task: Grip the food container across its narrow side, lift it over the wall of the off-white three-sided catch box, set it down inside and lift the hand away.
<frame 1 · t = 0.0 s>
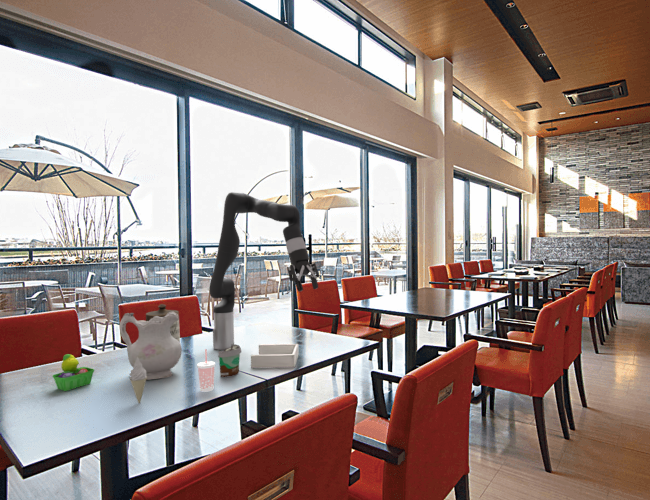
hand: (308, 289, 165), 31 cm above the table, tool tilted 20°, fingers open, 8 cm apart
lidded jar: (163, 351, 200), on the table
ceramic pitcher: (152, 375, 162), on the table
food container: (233, 374, 163), on the table
ice cream cone: (139, 403, 134), on the table
catch box: (275, 361, 178), on the table
fruit basket: (73, 386, 152), on the table
beverage cup: (206, 390, 146), on the table
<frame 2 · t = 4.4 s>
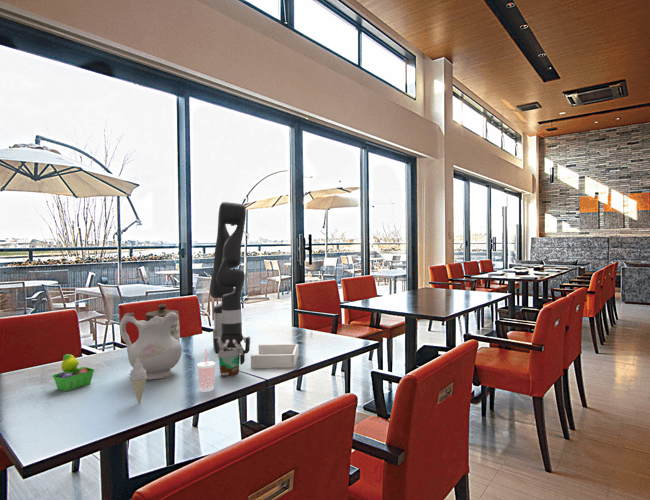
hand: (232, 364, 162), 4 cm above the table, tool pointing down, fingers closed on food container, 6 cm apart
food container: (233, 374, 163), on the table, touching gripper
everything else where it was.
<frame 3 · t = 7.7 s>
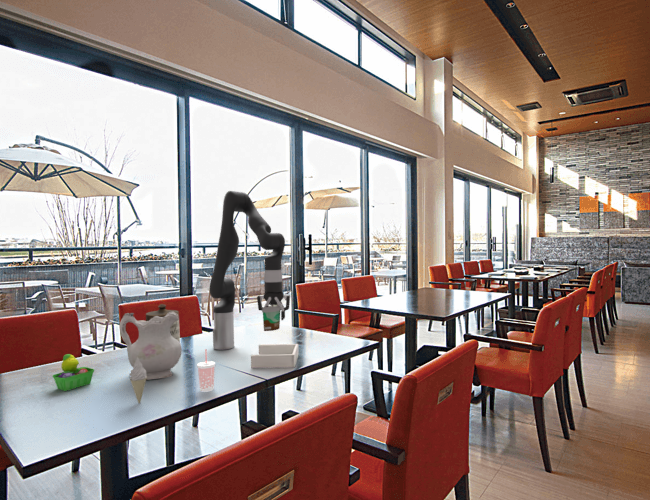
hand: (274, 320, 178), 17 cm above the table, tool pointing down, fingers closed on food container, 6 cm apart
food container: (274, 329, 178), point 14 cm above the table, touching gripper
everything else where it was.
when the fingers open (5 cm above the table, at t = 11.0 s): food container drops 1 cm, on the table.
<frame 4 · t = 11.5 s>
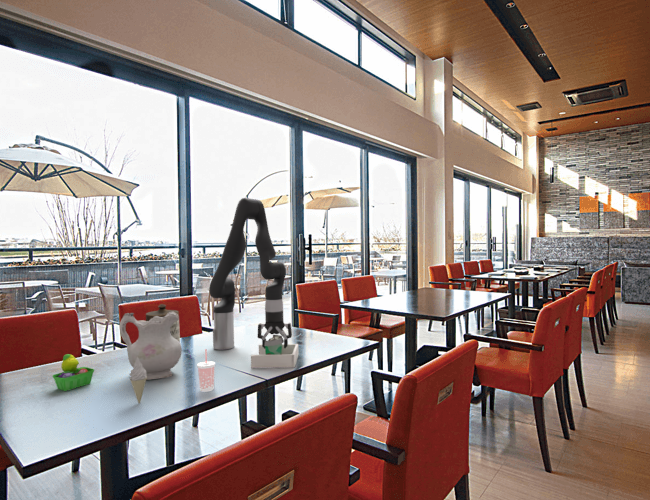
hand: (275, 348, 178), 6 cm above the table, tool pointing down, fingers open, 8 cm apart
food container: (276, 361, 178), on the table
everything else where it was.
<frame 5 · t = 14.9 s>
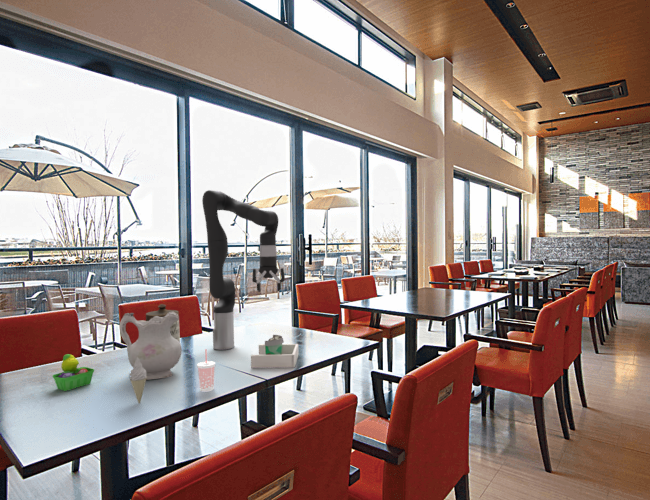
hand: (268, 291, 190), 28 cm above the table, tool pointing down, fingers open, 8 cm apart
nothing on the table moved.
at the end: food container inside the target area on the catch box (0.5 cm from its centre), point 0.0 cm above the catch box's base; food container tilted 0°; the gripper is holding nothing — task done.
